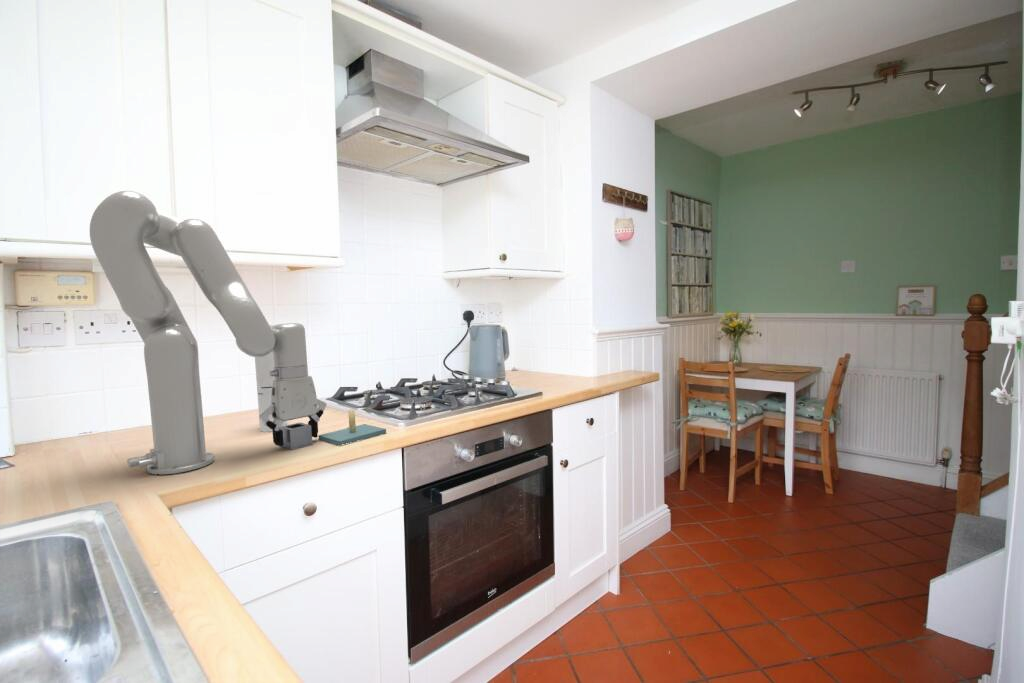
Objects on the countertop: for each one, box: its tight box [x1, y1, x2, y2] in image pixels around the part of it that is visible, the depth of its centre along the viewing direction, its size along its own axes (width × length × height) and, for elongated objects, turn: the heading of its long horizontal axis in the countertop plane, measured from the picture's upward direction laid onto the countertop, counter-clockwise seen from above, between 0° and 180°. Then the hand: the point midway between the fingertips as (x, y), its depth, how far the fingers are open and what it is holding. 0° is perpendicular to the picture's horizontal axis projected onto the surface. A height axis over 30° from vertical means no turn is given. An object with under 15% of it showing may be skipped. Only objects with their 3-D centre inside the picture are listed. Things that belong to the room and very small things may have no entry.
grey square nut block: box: [280, 421, 313, 451], centre depth 123 cm, size 6×6×5 cm
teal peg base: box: [318, 408, 387, 446], centre depth 130 cm, size 14×10×7 cm
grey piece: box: [254, 351, 288, 433], centre depth 140 cm, size 7×7×25 cm
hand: (296, 440), depth 123 cm, fingers open, 8 cm apart
